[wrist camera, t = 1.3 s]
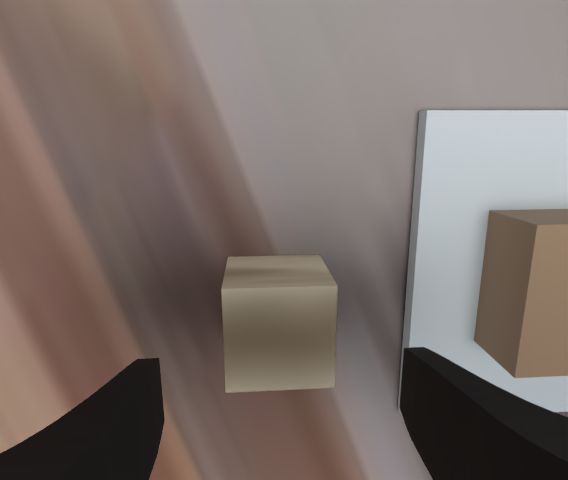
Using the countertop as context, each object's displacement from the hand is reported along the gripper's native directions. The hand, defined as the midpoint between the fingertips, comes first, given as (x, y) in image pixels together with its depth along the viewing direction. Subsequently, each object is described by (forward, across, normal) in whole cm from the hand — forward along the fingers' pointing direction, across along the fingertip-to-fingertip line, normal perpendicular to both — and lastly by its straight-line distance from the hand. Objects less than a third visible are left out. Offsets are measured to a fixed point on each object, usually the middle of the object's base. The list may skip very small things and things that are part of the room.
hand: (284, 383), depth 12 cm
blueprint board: (+6, -12, -1) cm, 14 cm away
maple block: (+7, 0, 0) cm, 7 cm away
